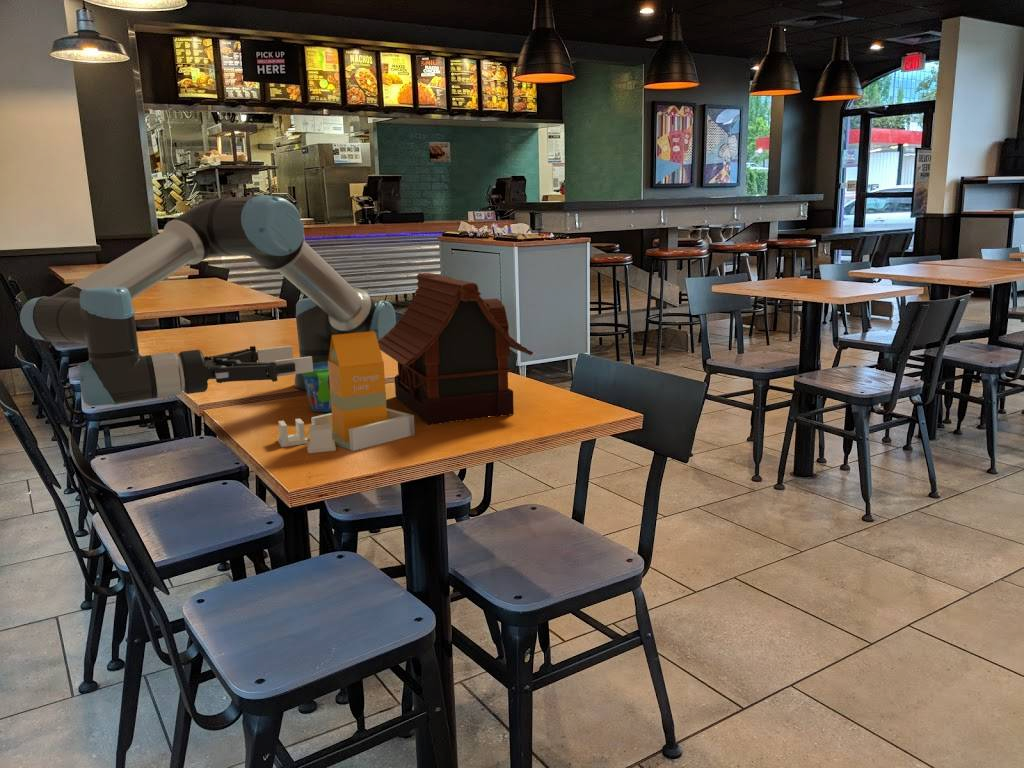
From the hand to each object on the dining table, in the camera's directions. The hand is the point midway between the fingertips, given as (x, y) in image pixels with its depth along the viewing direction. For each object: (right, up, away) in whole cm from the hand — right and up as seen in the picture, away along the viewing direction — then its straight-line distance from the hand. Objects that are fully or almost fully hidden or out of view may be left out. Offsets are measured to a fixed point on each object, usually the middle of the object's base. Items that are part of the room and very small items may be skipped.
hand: (302, 358), depth 145 cm
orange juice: (+10, -15, +7) cm, 19 cm away
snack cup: (-2, -11, +31) cm, 32 cm away
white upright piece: (+4, -17, 0) cm, 17 cm away
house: (+25, -10, +32) cm, 42 cm away
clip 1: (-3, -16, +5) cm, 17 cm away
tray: (+10, -15, +8) cm, 19 cm away
